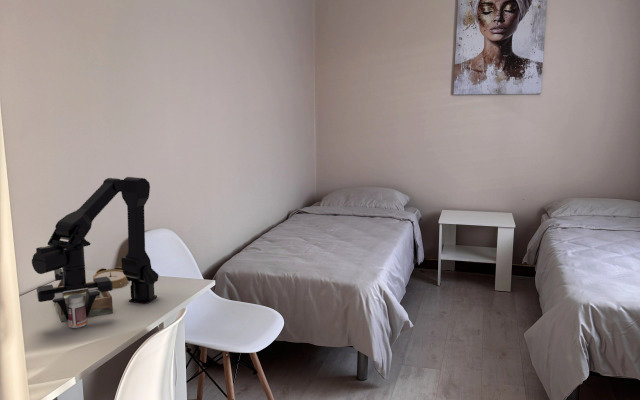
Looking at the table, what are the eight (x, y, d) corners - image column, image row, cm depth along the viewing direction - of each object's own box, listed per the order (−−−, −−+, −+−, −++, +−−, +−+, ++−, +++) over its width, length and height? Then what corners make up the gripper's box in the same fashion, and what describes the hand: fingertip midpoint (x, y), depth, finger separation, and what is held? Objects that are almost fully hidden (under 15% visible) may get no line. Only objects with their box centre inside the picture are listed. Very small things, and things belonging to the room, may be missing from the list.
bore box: (101, 294, 175) (100, 280, 174) (112, 312, 160) (112, 296, 159) (54, 302, 168) (53, 287, 167) (61, 322, 153) (60, 305, 152)
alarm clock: (92, 283, 178) (93, 263, 191) (93, 296, 180) (94, 276, 193) (127, 280, 182) (126, 261, 195) (128, 293, 184) (127, 273, 197)
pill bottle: (88, 320, 152) (87, 293, 151) (84, 327, 148) (82, 298, 146) (71, 321, 152) (69, 293, 150) (66, 328, 147) (63, 299, 146)
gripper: (103, 252, 158) (106, 302, 161) (32, 261, 149) (37, 314, 151) (111, 262, 149) (114, 315, 152) (36, 272, 139) (40, 328, 142)
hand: (77, 317), depth 149 cm, fingers closed on pill bottle, 5 cm apart
